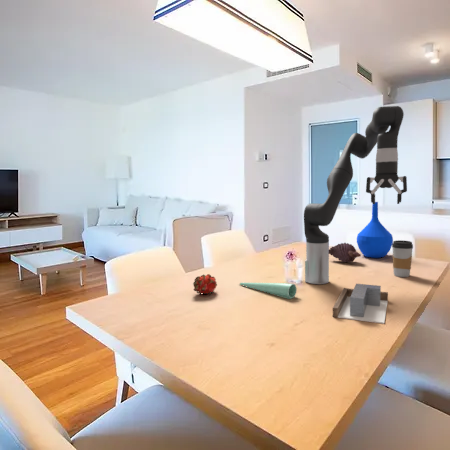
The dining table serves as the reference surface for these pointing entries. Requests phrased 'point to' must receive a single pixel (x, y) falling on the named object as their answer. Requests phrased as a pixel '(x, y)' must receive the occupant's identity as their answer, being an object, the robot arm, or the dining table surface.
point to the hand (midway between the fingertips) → (385, 203)
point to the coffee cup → (402, 257)
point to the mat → (370, 315)
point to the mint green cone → (275, 288)
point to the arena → (348, 293)
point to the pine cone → (344, 252)
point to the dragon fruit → (205, 284)
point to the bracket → (364, 298)
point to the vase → (374, 237)
